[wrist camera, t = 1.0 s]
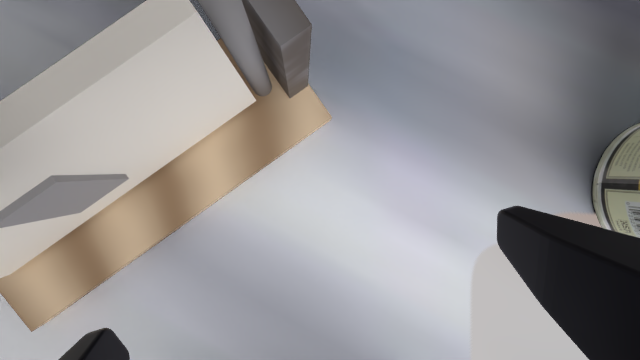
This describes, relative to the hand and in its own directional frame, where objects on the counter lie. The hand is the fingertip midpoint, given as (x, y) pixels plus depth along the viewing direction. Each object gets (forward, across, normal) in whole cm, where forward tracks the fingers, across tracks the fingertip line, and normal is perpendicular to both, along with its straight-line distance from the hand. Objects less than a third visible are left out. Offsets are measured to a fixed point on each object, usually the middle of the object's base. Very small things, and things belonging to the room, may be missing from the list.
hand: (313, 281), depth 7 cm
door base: (+16, +9, +2) cm, 18 cm away
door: (+14, +9, +1) cm, 17 cm away
